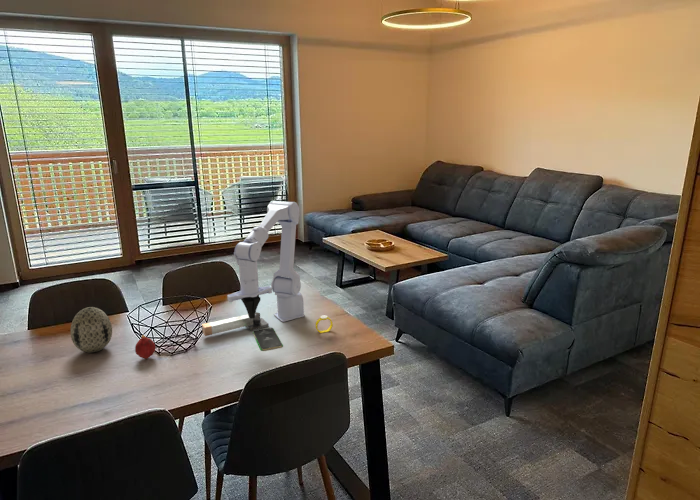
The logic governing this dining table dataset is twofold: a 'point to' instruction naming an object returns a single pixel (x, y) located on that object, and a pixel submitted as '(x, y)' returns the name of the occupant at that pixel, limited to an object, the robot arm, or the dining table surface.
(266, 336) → the smartphone
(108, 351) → the dining table surface
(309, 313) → the dining table surface
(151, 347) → the onion
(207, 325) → the swing bar
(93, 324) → the decorative egg
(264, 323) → the pivot plate
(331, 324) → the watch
